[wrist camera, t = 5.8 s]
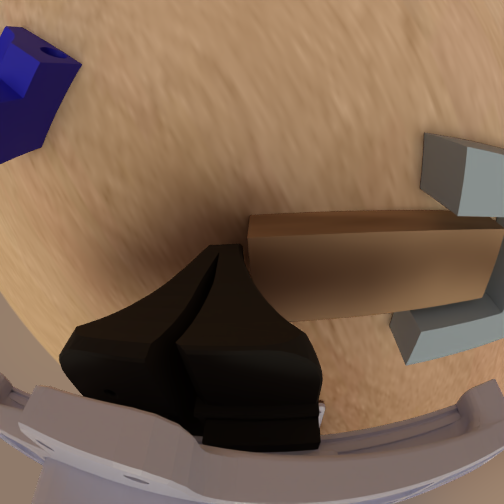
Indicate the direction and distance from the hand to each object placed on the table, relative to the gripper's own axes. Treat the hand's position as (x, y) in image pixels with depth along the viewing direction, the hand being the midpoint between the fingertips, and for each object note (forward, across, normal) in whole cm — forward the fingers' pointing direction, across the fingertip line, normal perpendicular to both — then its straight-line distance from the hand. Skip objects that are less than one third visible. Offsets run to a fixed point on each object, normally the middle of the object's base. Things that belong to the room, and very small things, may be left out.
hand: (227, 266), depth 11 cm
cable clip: (+1, +11, -12) cm, 17 cm away
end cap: (+1, -12, 0) cm, 13 cm away
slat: (+2, -7, 0) cm, 7 cm away
